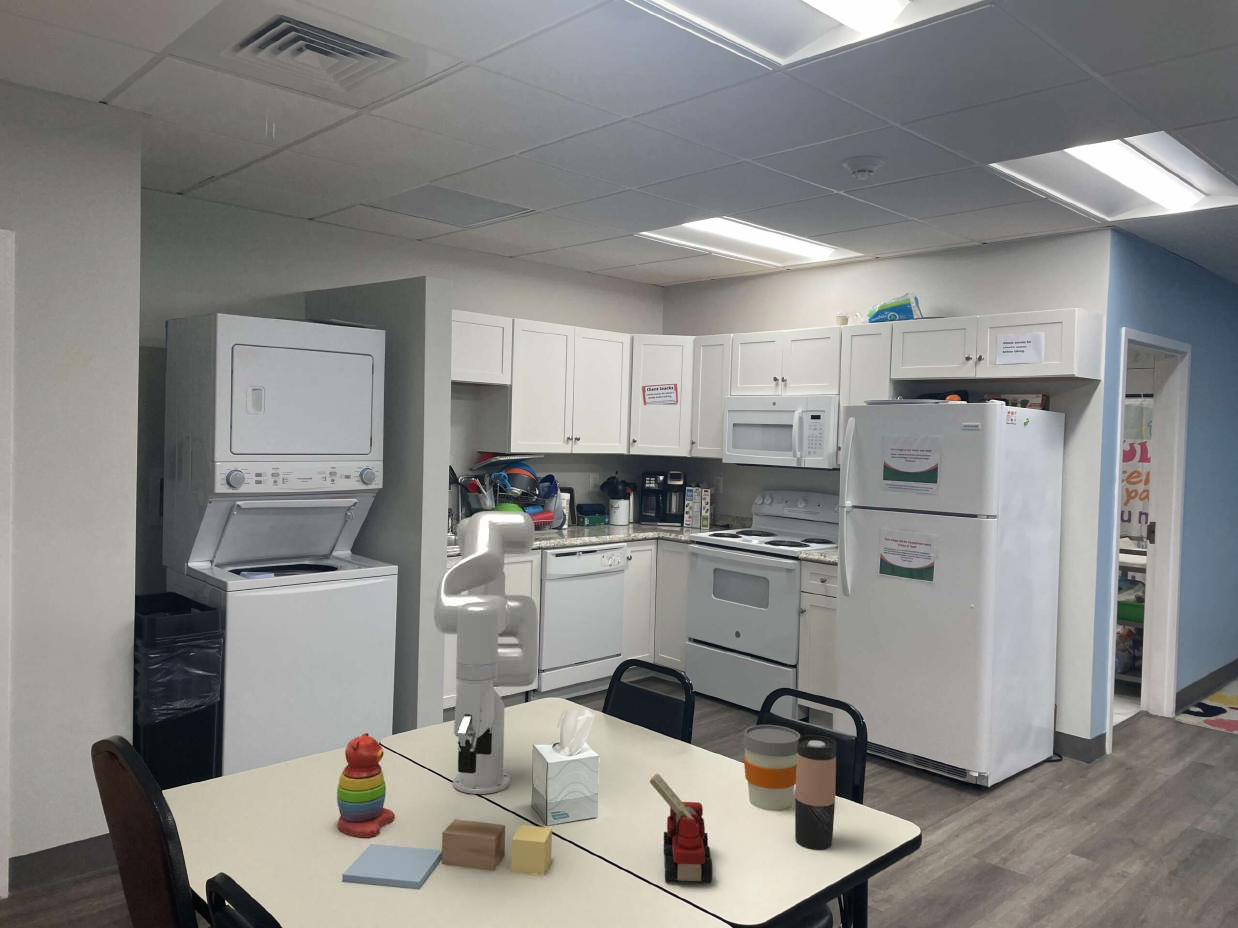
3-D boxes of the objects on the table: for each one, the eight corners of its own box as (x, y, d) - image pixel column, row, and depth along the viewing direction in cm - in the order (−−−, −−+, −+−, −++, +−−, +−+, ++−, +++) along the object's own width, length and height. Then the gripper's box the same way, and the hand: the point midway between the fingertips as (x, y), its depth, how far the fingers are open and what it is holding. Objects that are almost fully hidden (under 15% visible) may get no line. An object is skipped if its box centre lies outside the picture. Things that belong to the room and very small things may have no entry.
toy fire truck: (706, 848, 174) (709, 757, 174) (712, 888, 159) (715, 789, 158) (647, 846, 175) (650, 755, 174) (647, 886, 159) (650, 787, 159)
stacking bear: (373, 839, 174) (375, 748, 174) (325, 833, 176) (326, 743, 176) (398, 816, 185) (399, 730, 184) (352, 811, 187) (353, 725, 186)
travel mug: (835, 836, 181) (838, 737, 180) (831, 853, 173) (834, 750, 173) (796, 830, 183) (799, 732, 182) (791, 846, 176) (794, 744, 175)
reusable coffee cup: (774, 818, 188) (776, 747, 188) (729, 799, 198) (731, 731, 197) (811, 803, 196) (813, 735, 196) (766, 785, 206) (768, 720, 205)
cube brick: (519, 856, 169) (520, 824, 169) (551, 859, 168) (551, 827, 168) (511, 871, 163) (512, 839, 163) (544, 874, 162) (544, 842, 162)
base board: (370, 849, 170) (370, 843, 170) (442, 856, 168) (442, 850, 168) (342, 880, 158) (342, 874, 158) (419, 888, 156) (419, 881, 156)
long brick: (454, 850, 171) (454, 818, 171) (504, 856, 169) (505, 824, 169) (441, 864, 165) (442, 832, 165) (493, 871, 163) (494, 838, 163)
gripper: (471, 658, 175) (469, 745, 176) (441, 681, 158) (439, 778, 158) (509, 660, 174) (507, 748, 174) (483, 684, 157) (481, 781, 157)
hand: (475, 762), depth 166 cm, fingers open, 9 cm apart
